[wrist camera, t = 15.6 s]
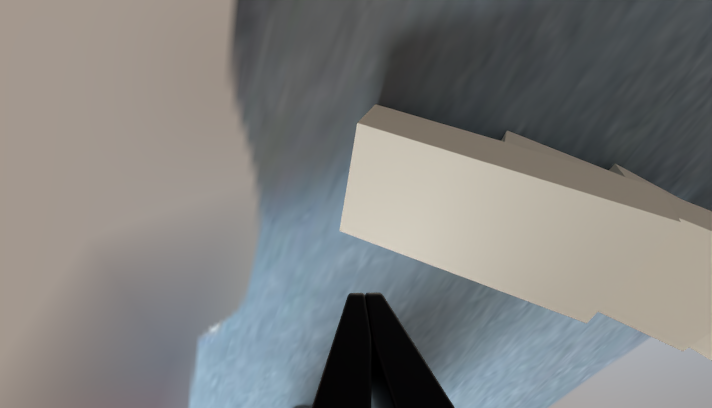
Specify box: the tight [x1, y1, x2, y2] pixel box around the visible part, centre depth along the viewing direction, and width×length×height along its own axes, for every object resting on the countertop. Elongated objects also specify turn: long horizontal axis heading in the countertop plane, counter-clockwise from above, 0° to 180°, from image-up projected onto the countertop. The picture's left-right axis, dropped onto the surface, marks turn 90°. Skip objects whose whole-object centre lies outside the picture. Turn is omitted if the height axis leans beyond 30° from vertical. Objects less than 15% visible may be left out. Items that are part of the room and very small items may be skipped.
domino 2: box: [501, 131, 712, 351], centre depth 15 cm, size 2×5×10 cm
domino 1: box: [340, 104, 681, 323], centre depth 13 cm, size 2×5×10 cm
